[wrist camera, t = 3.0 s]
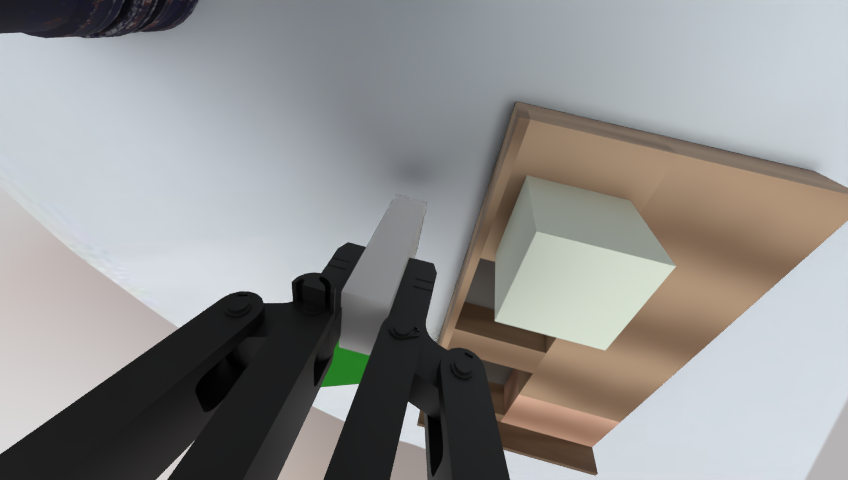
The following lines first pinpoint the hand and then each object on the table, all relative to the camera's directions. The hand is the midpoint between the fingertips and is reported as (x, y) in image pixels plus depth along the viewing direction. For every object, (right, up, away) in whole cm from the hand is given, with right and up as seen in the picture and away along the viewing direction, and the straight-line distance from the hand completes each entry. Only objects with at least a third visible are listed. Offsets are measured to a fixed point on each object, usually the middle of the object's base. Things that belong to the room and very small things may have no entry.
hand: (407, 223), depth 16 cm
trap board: (+11, -5, +8) cm, 14 cm away
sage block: (+8, 0, +1) cm, 8 cm away
